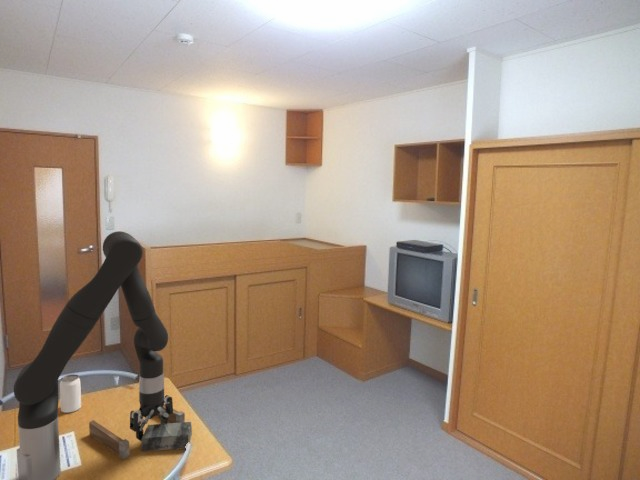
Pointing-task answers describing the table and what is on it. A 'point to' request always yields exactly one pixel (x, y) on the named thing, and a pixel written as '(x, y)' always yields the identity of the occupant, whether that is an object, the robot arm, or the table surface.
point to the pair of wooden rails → (122, 445)
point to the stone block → (166, 436)
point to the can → (70, 393)
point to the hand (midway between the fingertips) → (152, 433)
